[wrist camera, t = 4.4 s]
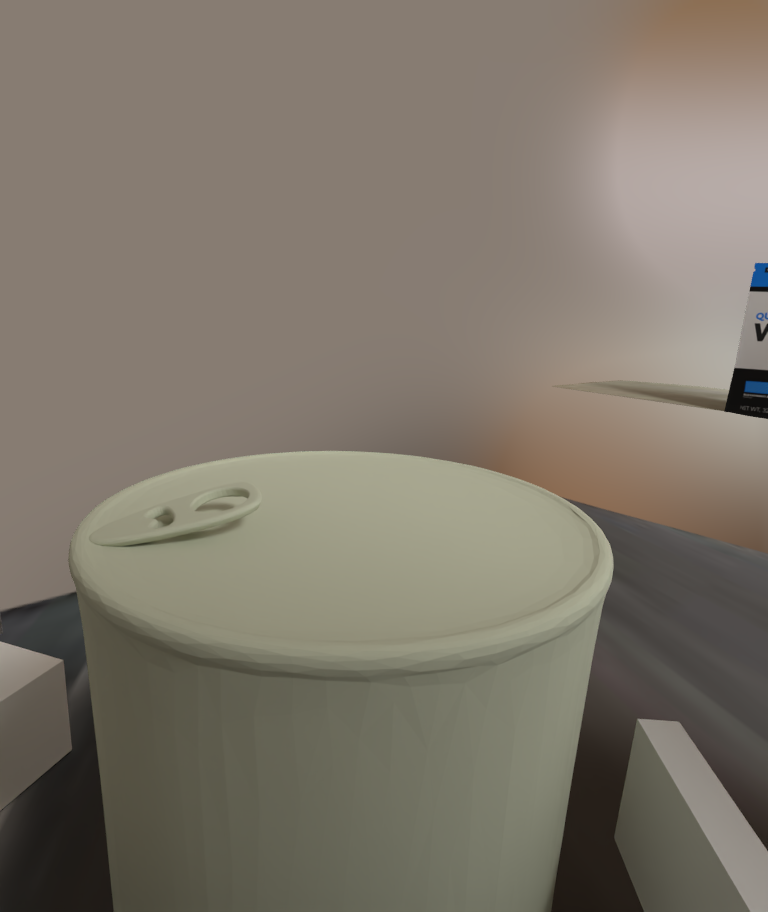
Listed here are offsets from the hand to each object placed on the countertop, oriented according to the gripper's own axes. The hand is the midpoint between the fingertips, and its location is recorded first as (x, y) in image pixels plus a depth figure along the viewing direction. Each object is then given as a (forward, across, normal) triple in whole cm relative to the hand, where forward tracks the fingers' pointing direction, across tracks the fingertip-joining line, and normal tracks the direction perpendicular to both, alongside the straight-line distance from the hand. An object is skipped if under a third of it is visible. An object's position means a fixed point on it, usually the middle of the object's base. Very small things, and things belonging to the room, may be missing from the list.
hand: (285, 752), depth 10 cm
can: (+1, +1, -7) cm, 7 cm away
